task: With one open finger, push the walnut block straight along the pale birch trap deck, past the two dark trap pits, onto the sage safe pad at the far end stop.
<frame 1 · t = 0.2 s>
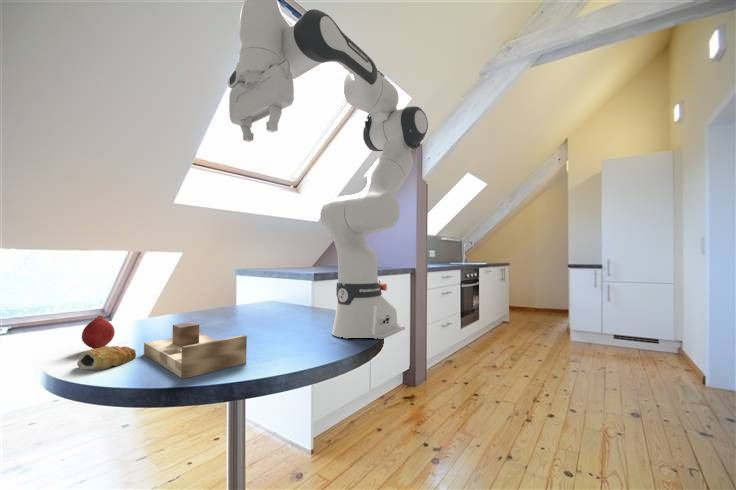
hand: (259, 136, 74), 48 cm above the table, fingers open, 8 cm apart
onion: (98, 351, 78), on the table
walnut block: (185, 343, 75), point 2 cm above the table, touching trap deck
trap deck: (193, 358, 73), on the table
pastry: (106, 366, 69), on the table
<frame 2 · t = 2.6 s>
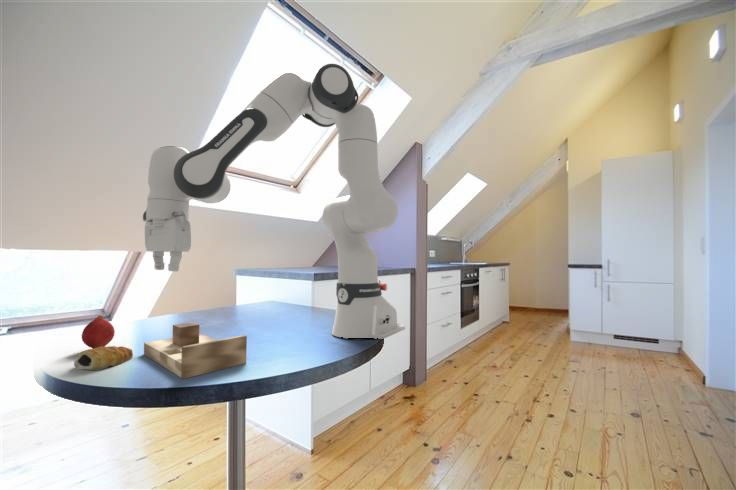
hand: (166, 270, 84), 18 cm above the table, fingers open, 8 cm apart
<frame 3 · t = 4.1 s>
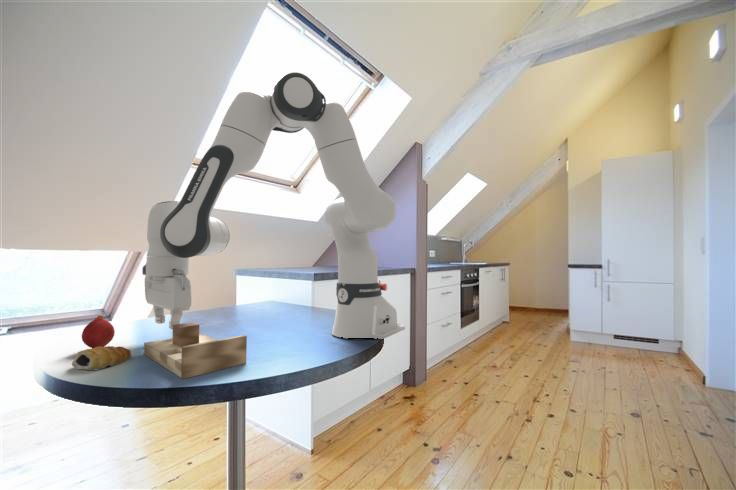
hand: (166, 325, 83), 5 cm above the table, fingers open, 8 cm apart
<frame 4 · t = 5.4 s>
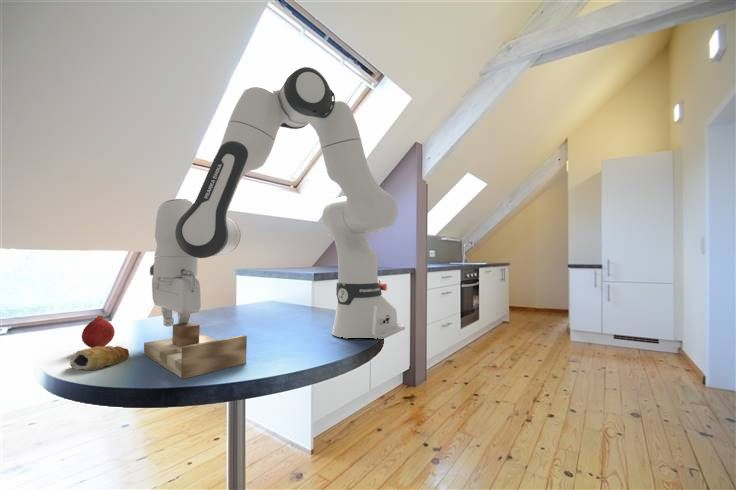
hand: (174, 328, 80), 5 cm above the table, fingers open, 7 cm apart
walnut block: (185, 343, 75), point 3 cm above the table, touching gripper, trap deck
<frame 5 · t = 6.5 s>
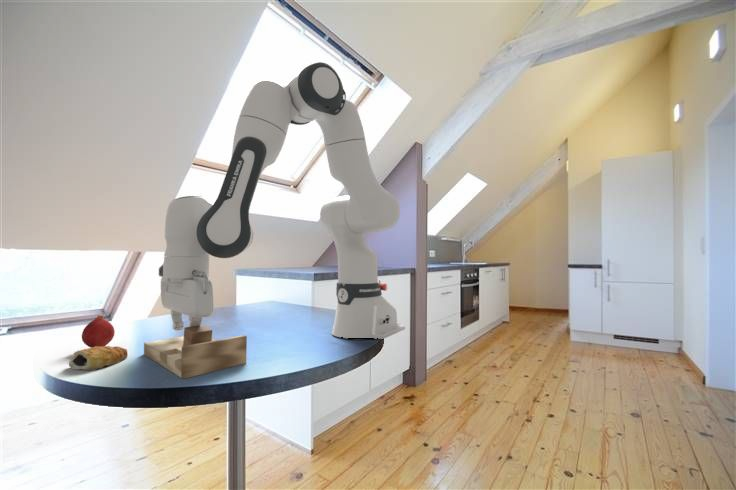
hand: (185, 332, 76), 5 cm above the table, fingers open, 7 cm apart
walnut block: (197, 347, 71), point 3 cm above the table, tilted 8°, touching gripper, trap deck
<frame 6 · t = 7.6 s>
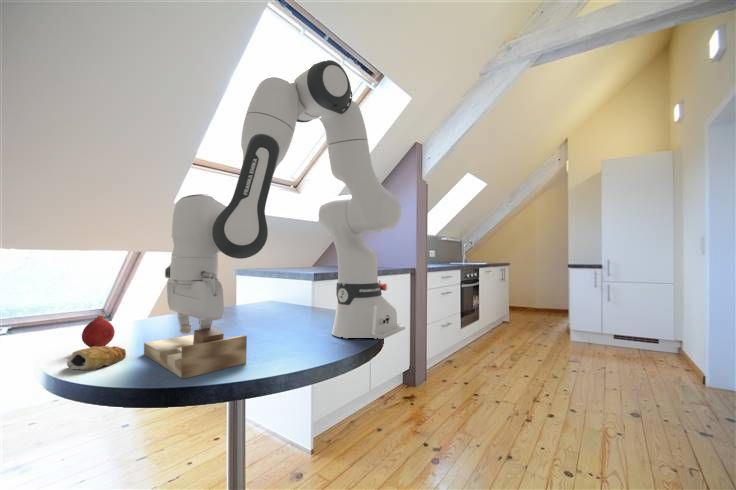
hand: (193, 336, 73), 5 cm above the table, fingers open, 8 cm apart
walnut block: (207, 351, 68), point 3 cm above the table, tilted 10°, touching gripper, trap deck
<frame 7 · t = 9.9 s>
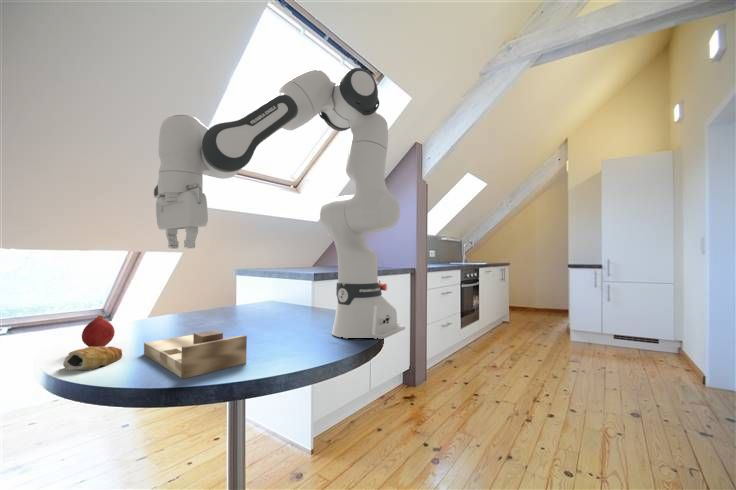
hand: (181, 248, 78), 23 cm above the table, fingers open, 8 cm apart
walnut block: (207, 353, 68), point 2 cm above the table, touching trap deck
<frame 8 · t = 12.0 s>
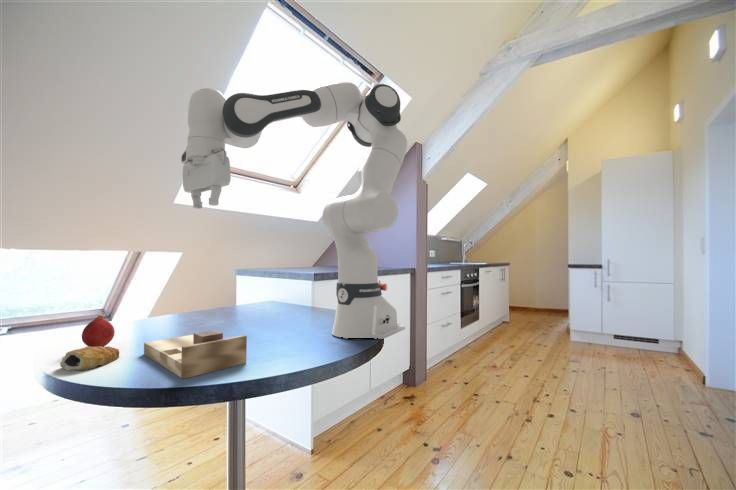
hand: (205, 206, 89), 34 cm above the table, fingers open, 8 cm apart
at the end: walnut block 0.5 cm from the target spot on the trap deck, point 2.5 cm above the trap deck's base; walnut block tilted 0° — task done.
